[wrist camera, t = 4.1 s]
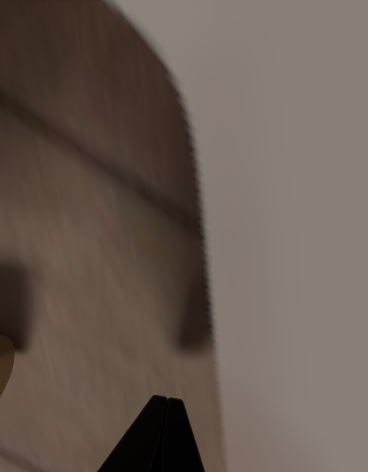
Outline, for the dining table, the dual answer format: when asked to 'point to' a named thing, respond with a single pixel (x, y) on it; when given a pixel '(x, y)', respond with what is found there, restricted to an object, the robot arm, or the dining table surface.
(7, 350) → the cylinder
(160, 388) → the dining table surface
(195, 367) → the dining table surface
